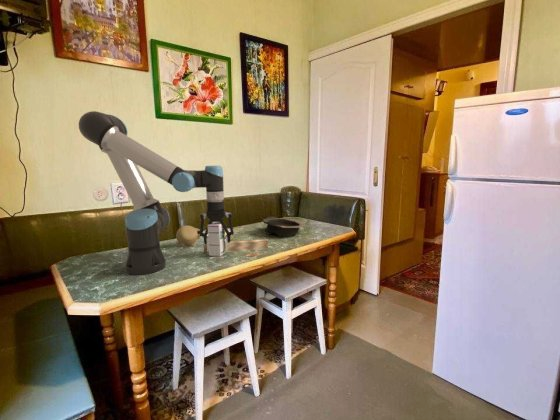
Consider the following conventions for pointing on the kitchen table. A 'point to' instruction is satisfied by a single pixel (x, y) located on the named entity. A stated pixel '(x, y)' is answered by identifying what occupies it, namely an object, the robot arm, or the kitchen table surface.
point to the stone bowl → (282, 226)
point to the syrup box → (216, 239)
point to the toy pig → (187, 235)
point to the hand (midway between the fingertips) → (217, 250)
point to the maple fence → (243, 247)
